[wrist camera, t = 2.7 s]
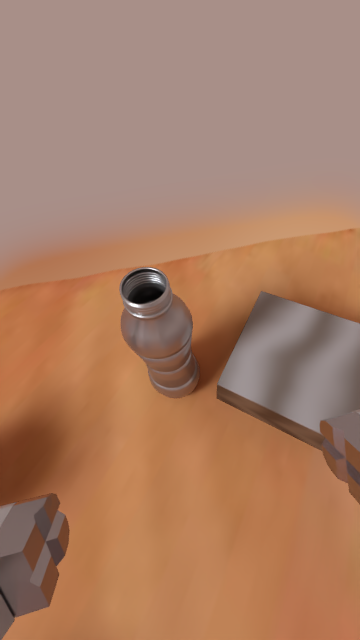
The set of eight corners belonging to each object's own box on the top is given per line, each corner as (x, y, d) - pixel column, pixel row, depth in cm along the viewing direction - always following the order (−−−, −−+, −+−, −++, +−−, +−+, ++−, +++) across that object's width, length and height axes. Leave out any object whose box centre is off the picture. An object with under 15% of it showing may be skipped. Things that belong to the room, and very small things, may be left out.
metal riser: (356, 352, 35) (380, 330, 30) (331, 455, 29) (356, 450, 24) (255, 315, 40) (261, 291, 34) (216, 398, 34) (217, 383, 29)
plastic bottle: (182, 412, 33) (151, 342, 16) (142, 383, 36) (80, 296, 19) (210, 372, 36) (208, 274, 19) (171, 347, 38) (138, 242, 21)
